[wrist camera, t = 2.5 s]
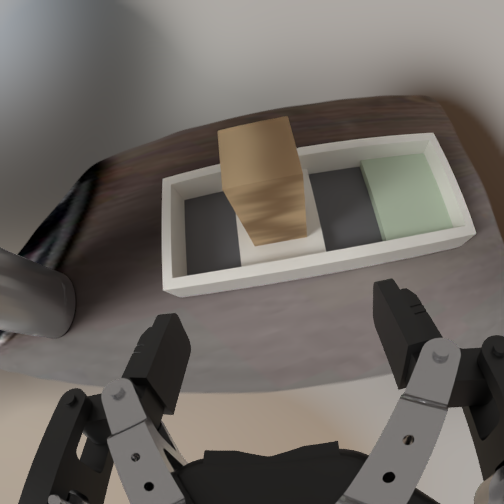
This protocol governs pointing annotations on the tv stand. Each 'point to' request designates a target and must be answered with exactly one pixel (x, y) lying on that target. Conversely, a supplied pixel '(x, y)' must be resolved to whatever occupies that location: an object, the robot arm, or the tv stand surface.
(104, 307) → the tv stand surface
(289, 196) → the oak post
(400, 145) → the box
